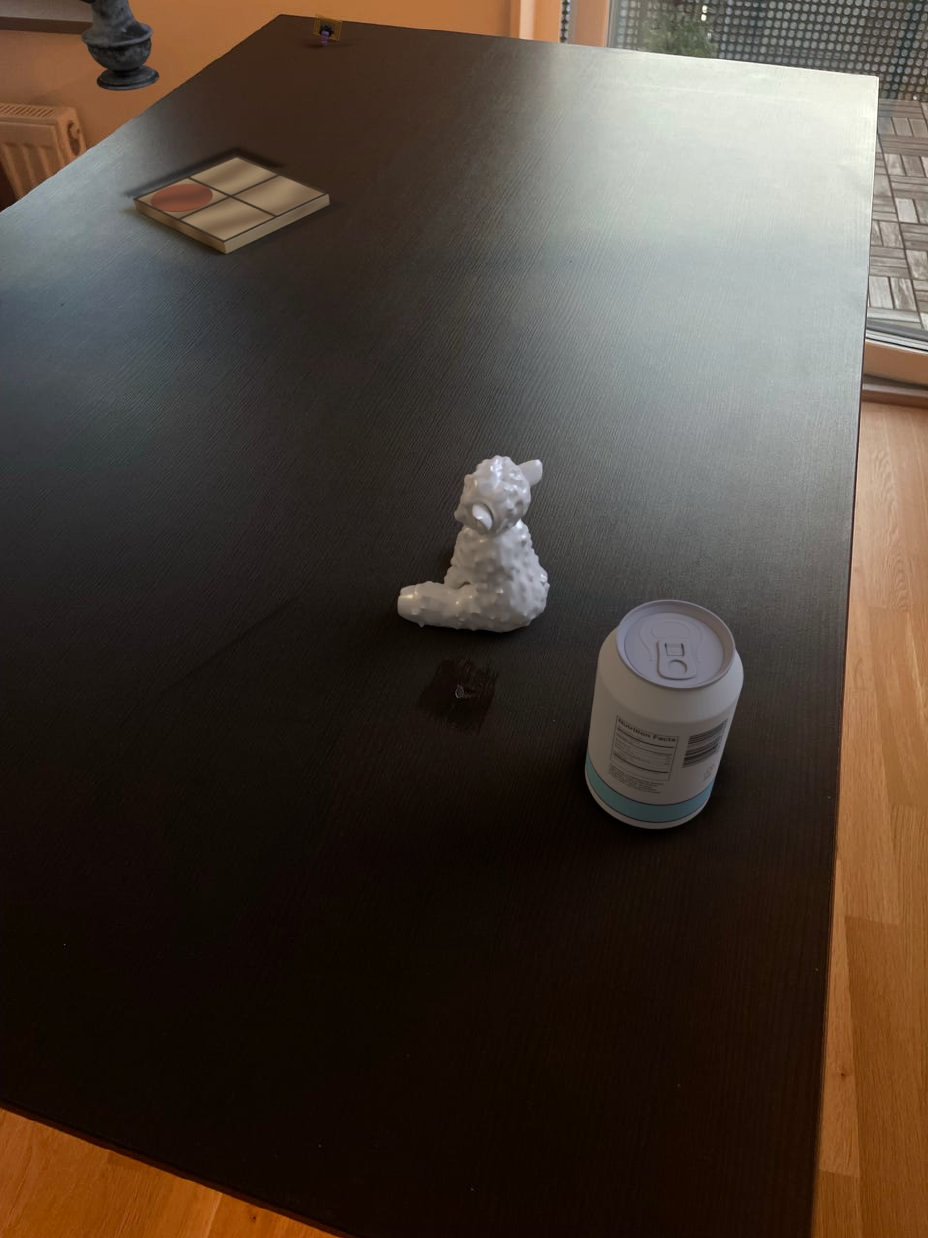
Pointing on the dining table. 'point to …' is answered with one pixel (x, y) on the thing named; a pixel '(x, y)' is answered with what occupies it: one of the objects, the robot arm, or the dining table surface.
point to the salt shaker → (119, 46)
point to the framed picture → (326, 29)
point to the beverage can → (661, 713)
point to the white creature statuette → (487, 557)
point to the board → (231, 203)
